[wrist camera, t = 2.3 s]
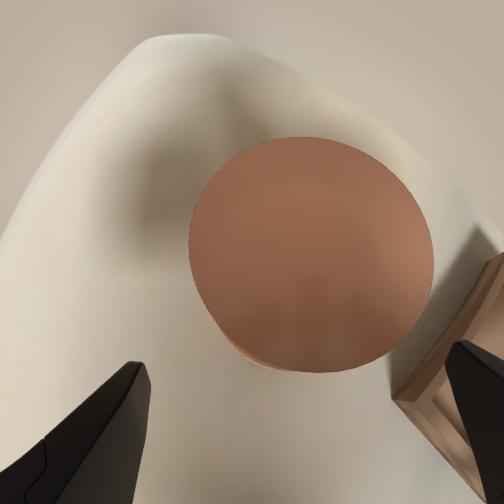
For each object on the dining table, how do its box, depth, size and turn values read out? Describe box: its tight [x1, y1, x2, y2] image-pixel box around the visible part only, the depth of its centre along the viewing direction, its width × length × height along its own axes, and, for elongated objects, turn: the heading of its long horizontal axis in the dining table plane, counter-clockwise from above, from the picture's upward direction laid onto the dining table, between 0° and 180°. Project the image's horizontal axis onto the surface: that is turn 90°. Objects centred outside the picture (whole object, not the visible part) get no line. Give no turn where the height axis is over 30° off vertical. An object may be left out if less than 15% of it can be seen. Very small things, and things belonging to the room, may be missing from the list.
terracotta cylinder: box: [189, 137, 434, 373], centre depth 12 cm, size 6×6×12 cm
